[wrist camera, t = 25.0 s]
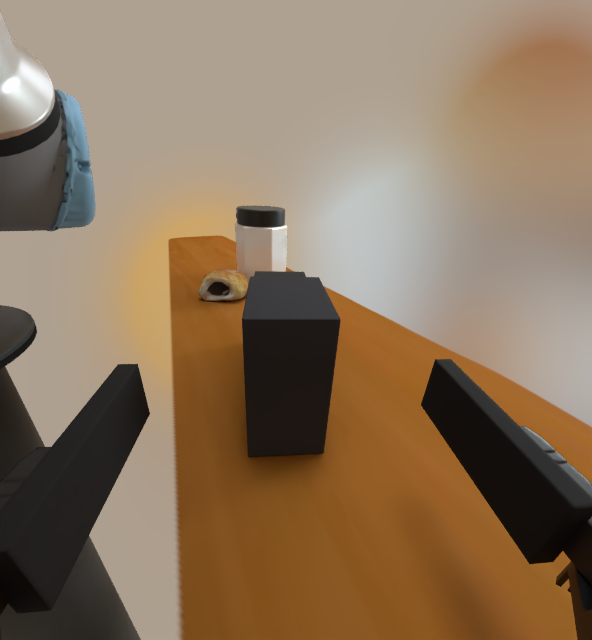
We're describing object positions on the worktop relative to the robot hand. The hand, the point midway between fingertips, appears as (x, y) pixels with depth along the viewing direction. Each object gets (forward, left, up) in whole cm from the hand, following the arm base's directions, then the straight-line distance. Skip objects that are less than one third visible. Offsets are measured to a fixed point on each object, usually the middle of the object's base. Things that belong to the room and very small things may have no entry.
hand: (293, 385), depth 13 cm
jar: (+28, +30, -8) cm, 42 cm away
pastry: (+18, +28, -8) cm, 34 cm away
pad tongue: (+6, +5, -8) cm, 11 cm away
